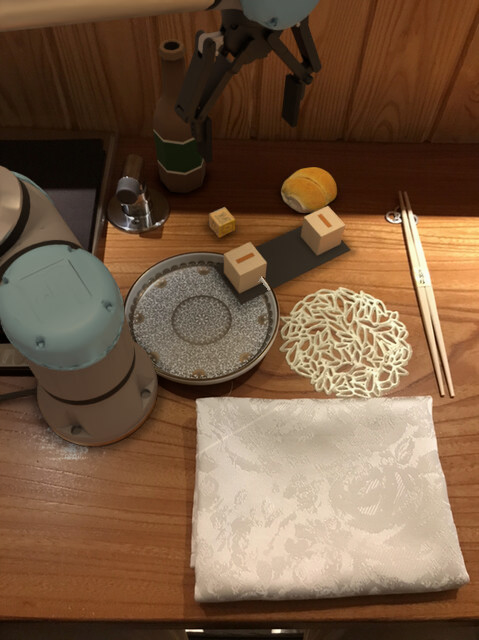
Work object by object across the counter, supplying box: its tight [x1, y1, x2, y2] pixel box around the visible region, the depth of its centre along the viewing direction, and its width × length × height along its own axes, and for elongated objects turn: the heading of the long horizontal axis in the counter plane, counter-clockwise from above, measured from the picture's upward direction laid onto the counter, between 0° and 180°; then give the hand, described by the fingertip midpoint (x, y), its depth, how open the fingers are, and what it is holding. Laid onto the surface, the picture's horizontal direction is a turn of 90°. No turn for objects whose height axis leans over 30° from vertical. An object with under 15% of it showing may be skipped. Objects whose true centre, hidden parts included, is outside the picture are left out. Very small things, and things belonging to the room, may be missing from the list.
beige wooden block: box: [301, 205, 346, 255], centre depth 86 cm, size 4×4×5 cm
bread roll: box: [280, 166, 338, 214], centre depth 92 cm, size 8×9×4 cm
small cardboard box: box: [223, 241, 267, 293], centre depth 82 cm, size 4×4×5 cm
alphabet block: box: [208, 206, 236, 239], centre depth 88 cm, size 3×3×3 cm
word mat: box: [213, 224, 352, 305], centre depth 86 cm, size 20×8×1 cm, turn 121°
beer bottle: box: [152, 38, 206, 194], centre depth 85 cm, size 8×8×24 cm
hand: (248, 138), depth 76 cm, fingers open, 13 cm apart
